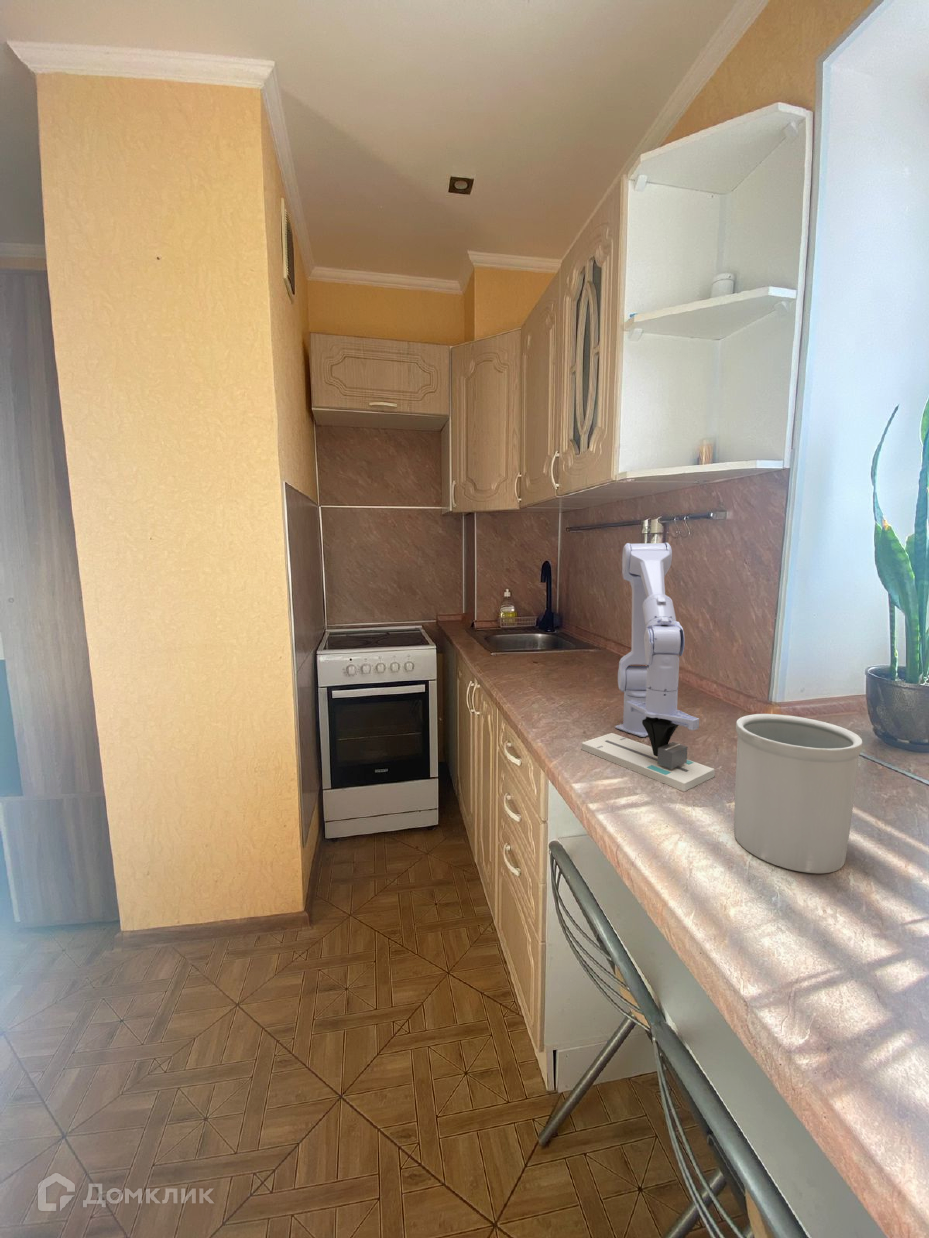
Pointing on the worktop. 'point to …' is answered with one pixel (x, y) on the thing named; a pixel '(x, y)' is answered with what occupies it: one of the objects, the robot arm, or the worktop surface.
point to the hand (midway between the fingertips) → (659, 754)
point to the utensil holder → (795, 790)
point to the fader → (672, 755)
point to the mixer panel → (647, 761)
